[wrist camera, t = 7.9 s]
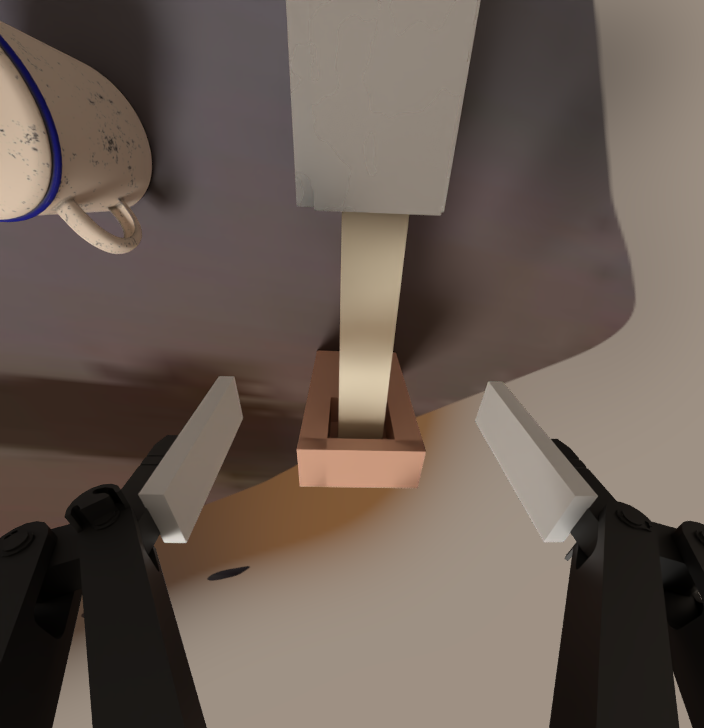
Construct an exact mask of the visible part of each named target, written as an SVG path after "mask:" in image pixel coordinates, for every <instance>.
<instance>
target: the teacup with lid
mask: <svg viewBox="0 0 704 728" xmlns="http://www.w3.org/2000/svg"><path fill="white" fill-rule="evenodd" d="M151 173H152V158H151V151H150V146H149V142H148V139H147V136H146V133H145V131H144V128H143V126H142V124H141V122H140V120H139V118H138V116H137V114H136V113H135V111H134V110H133V108H132V107H131V105H130V104H129V102H128V101H127V100H126V98H125V97H124V96H123V94H122V93H121V92H120V91H119V90H118V89H117V88H116V87H115V86H114V85H113V84H112V83H111V82H110V81H109V80H108V79H107V78H105V77H104V76H103V75H102V74H100V73H99V72H98V71H96V70H95V69H93V68H91V67H90V66H88V65H86V64H84V63H82V62H80V61H78V60H77V59H75V58H73V57H71V56H69V55H67V54H65V53H63V52H61V51H59V50H57V49H55V48H53V47H51V46H49V45H47V44H45V43H43V42H41V41H39V40H37V39H35V38H33V37H31V36H29V35H27V34H25V33H23V32H21V31H19V30H17V29H15V28H13V27H11V26H9V25H7V24H5V23H3V22H1V21H0V222H16V221H23V220H27V219H30V218H33V217H35V216H37V215H50V214H59V215H60V216H61V218H62V219H63V220H64V221H65V222H66V223H67V224H68V225H69V226H70V227H71V228H72V229H73V230H74V231H75V232H76V233H77V234H78V235H79V236H81V237H82V238H83V239H85V240H86V241H87V242H89V243H90V244H92V245H94V246H95V247H97V248H99V249H101V250H103V251H106V252H109V253H113V254H124V253H127V252H130V251H131V250H133V249H134V248H135V247H137V246H138V245H139V243H140V241H141V238H142V231H141V227H140V224H139V222H138V220H137V218H136V216H135V215H134V213H133V212H132V210H131V209H130V208H129V207H131V206H133V205H134V204H135V203H137V202H138V201H139V200H140V199H141V198H142V197H143V195H144V194H145V192H146V190H147V188H148V186H149V183H150V179H151ZM102 211H110V212H111V213H112V214H113V215H114V217H115V218H116V219H117V221H118V222H119V224H120V225H121V227H122V229H123V232H124V238H119V237H116V236H114V235H112V234H110V233H108V232H107V231H105V230H104V229H102V228H101V227H100V226H98V225H97V224H96V223H95V222H94V221H93V220H92V219H91V218H90V217H89V216H88V215H87V214H86V213H85V212H102Z"/></svg>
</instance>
